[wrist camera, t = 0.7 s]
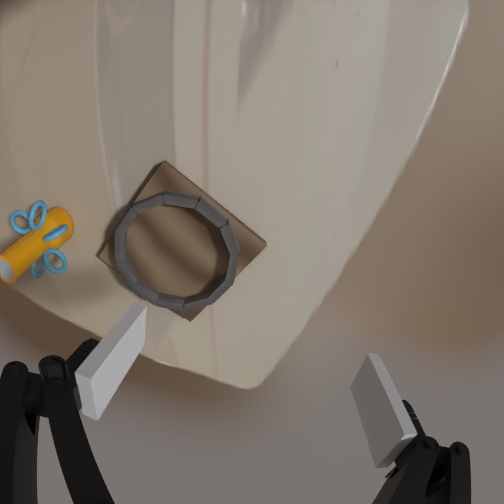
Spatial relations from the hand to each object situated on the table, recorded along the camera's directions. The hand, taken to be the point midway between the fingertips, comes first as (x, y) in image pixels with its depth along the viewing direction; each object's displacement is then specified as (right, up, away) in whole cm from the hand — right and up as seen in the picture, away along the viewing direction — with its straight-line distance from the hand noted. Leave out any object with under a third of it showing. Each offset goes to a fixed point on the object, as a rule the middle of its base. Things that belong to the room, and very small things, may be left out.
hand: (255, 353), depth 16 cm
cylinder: (-31, +10, +24) cm, 40 cm away
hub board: (-11, +6, +26) cm, 29 cm away
